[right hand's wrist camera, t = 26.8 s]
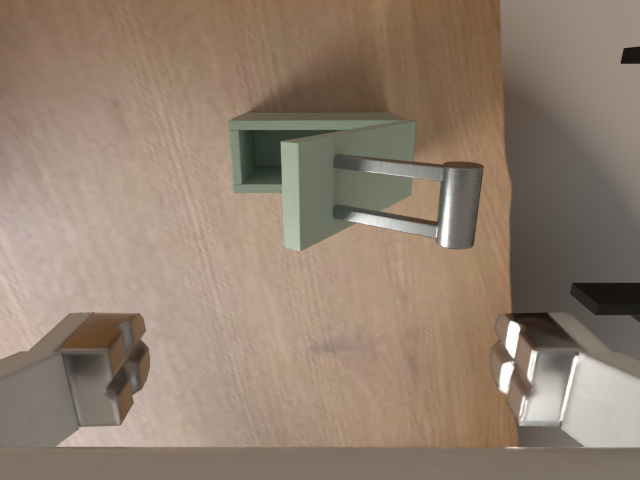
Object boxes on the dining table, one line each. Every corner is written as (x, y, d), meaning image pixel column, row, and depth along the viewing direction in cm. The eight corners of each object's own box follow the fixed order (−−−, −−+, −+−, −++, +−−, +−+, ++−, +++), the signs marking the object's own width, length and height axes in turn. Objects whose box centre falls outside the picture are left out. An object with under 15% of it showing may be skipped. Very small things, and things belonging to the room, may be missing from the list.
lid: (283, 247, 24) (446, 289, 19) (280, 141, 22) (460, 158, 17) (397, 193, 35) (518, 211, 30) (402, 120, 33) (532, 126, 28)
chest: (249, 171, 43) (233, 193, 35) (246, 112, 41) (228, 120, 33) (387, 171, 43) (403, 192, 35) (390, 112, 41) (407, 119, 33)
